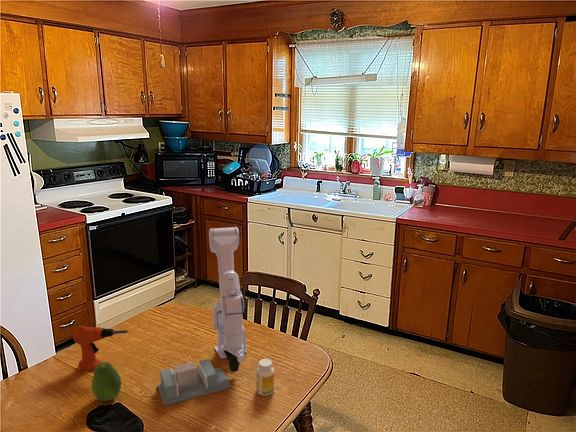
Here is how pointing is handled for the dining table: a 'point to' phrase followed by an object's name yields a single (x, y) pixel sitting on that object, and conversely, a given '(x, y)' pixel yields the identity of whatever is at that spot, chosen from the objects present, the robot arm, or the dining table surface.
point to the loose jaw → (207, 374)
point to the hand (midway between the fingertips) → (234, 370)
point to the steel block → (186, 376)
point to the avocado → (106, 382)
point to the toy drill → (91, 344)
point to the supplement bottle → (265, 377)
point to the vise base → (171, 394)
